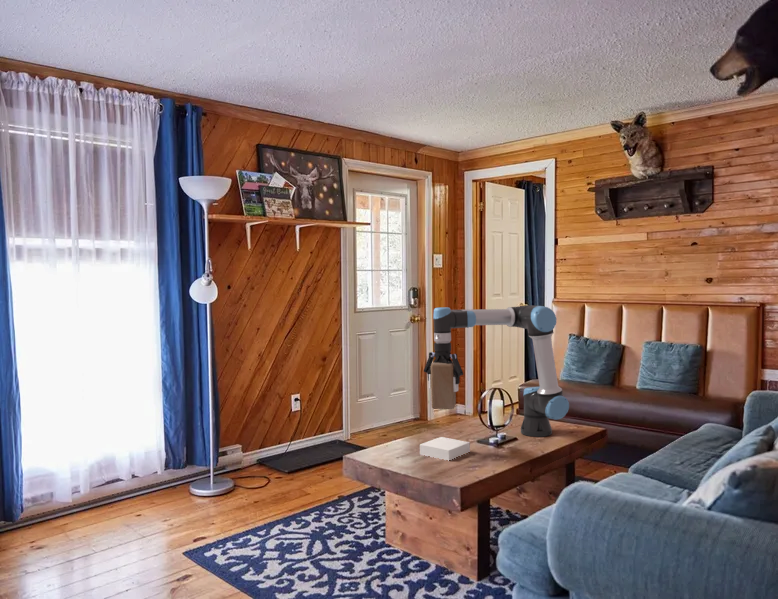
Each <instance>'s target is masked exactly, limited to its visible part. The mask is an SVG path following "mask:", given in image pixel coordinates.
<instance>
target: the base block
mask: <svg viewBox="0 0 778 599" xmlns="http://www.w3.org/2000/svg"><path fill="white" fill-rule="evenodd" d="M468 452H470V453H471V442H470V441H465V440H464V441H463V440H459V439H455V438H450V437H449V438H448V437H444V436H440V437H436V438H434V439H430V440H429V441H425V442H423V443H420V444H419V455H420V456H424V455H425V457H428V456H430V458H433V457H434V459H437V458H439V459H438V460H442V459H444V460H443V461H446V460H448V461H447V462H450V461H449V460H451V461H453V460H455V459H457V458H456V457H458V456H460V457H462V456H461V455H463V454H465V453H468ZM468 454H469V453H468ZM465 455H466V454H465ZM463 456H464V455H463ZM454 458H455V459H454ZM458 458H459V457H458ZM452 459H453V460H452Z"/></svg>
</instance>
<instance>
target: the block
mask: <svg viewBox="0 0 778 599" xmlns="http://www.w3.org/2000/svg"><path fill="white" fill-rule="evenodd" d="M433 362H434V361H433ZM433 362H432V364H431V389H430V394H431V395H430V396H431V408H432V409H433V410H454V408H455V406H456V404H457V392H454V390H453V377H454V374H453V370H454V363H453V361H452V363H450V364H446V363H439V362H436V363H435V362H434V363H433ZM448 362H449V361H448Z"/></svg>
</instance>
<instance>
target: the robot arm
mask: <svg viewBox="0 0 778 599" xmlns="http://www.w3.org/2000/svg"><path fill="white" fill-rule="evenodd" d="M432 316H433V317H432V318H433V341H434V344H433V349H434V351H430V352H428V358H427V361H426V363H425V366H424V368H423V372H424V373H426V374H427V381H428V389H430V390H431V364H432V363H434V362H435V363H436V362H439V363H446V364H450V363H452V361H453V363H454V370H453V374H454V377H453V390H454V392H456V393H457V392H459V385H460V383H461V381H460V377H461V376H464V372H463V370H462V366H461V364H460V362H459V359H458V354H457V353H452V343H451V341H452V329H460V328H461V329H464V328H468V329H469V328H473V327H475V326H505V325H506V326H507V327H510V328H512V327H513V328H520V329H525V330H527V335H528V337H529V338H530V339H532V344H533V353H534V359H535V366H536V371H537V378H538V386H530V387H525V388H524V389H523V420H522V424H521V426H520V434H522V435H524V436H526V437H537V438H539V437H543V438H544V437H548V436H551V435H552V434H553V429H552V425H551V421H550V420H555V421H556V420H557V421H558V420H561V419H562V418H564V417H565V416H566V415H567V414H568V412H569V409H570V402H569V400H568V398H566V397H565V396H564V393H563V388H562V387H560V385H559V382H558V376H557V375H558V374H557V369H556V362H555V353H554V349H553V341H552V335H553V334H554V329H555V327H556V324H557V316H556V313H555V312H554V310H552V309H551V308H550V307H548V306H543V305H531V304H530V305H529V304H527V305H521V306H520V305H519V306H508V307H506V308H499V309H498V308H497V309H496V308H494V309H493V308H491V309H489V308H488V309H486V308H485V309H484V308H483V309H481V308H480V309H451V308H450V307H448V306H447V307H435V308H434V309H433V315H432ZM448 361H449V362H448ZM549 419H550V420H549Z"/></svg>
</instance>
